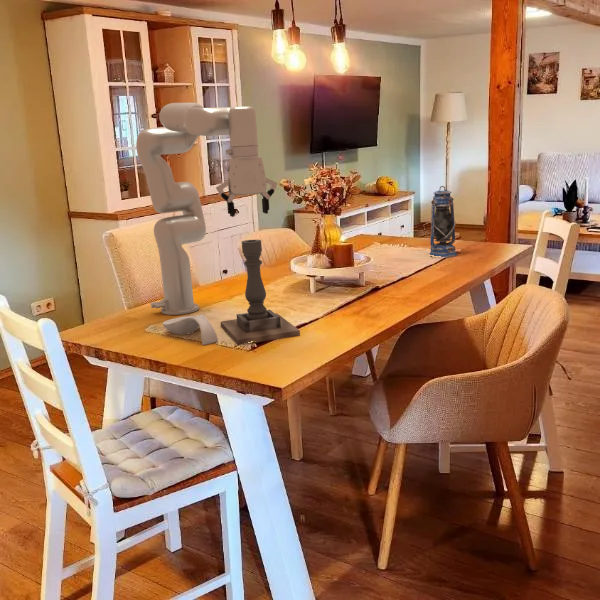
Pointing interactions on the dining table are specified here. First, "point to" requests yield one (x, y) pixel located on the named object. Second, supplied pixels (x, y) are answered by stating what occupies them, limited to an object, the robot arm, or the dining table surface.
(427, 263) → the dining table surface
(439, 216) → the lantern
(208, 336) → the spoon rest
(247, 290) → the candle holder
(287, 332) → the socket board
